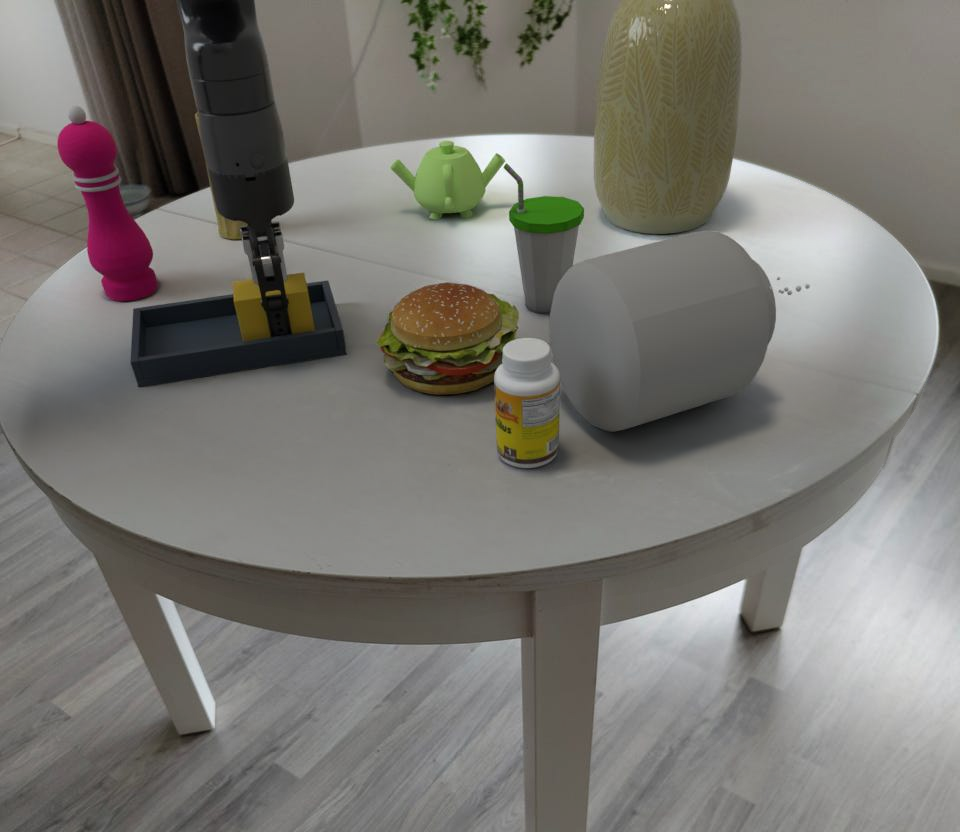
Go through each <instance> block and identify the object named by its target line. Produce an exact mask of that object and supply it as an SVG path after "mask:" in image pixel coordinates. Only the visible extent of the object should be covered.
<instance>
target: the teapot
mask: <svg viewBox="0 0 960 832" xmlns="http://www.w3.org/2000/svg"><path fill="white" fill-rule="evenodd" d="M438 145H439V146H436V147H433V148H431V149H429V150H427V151H426V152H425V154H424V155H423V157H422V158H421V161H420V164H419V165H418V168H417V170H416V172H415V175H414V174H413V173H412V172H411V171H410V170H409V169H408V168H407V166H406V165H405V164H404V163H403V162H402V161H401V160H400V159H396V160H395V161H394V162H393V163H392V164H391V166H390V170H391V171H393V173H394V174H396V176H397V177H399V179H400V180H401V181H403V183H404V184H405V185H406V186H407V187H408V188H409V189H410V190H411V191H412V192H413V196H414V199H415V201H416V202H417V203H418V204H419V205H420V206H421V207H422V208H423V209H424V210H426V211H427V212H430V214H429V216H428V218H429V219H431V220H440V219H442V218H443V214H454V213H459V216H460V217H461V218H471V217H473V216H474V214H473V212H472V210H471V209H474V208H475V207H477V205H479V204H480V202H481V201H482V199H483V198H484V196H485V194H486V188H487V186H488V185H489V184H490V183H491V181H492V179H493V178H494V177H495V176H496V175H497V173H498V172H499V170H500V169H501V168H502V166H503V165H505V163H506V159H505V158H504V157H503V156H502V155H501V154H499V153H497V152H496V153H495V154H494V155H493V157H492V158H491V160H490V161H489V162H488V164H487V166H486V167H485V168H484V170H483V171H482V169H481V168H480V165H479V164H478V162H477V161H476V159H475V158H474V156H473V154H472V153H471V151H470V150H469V149H467V148H466V147H465V146H464V147H463V146H460V145H455V142H454V141H453V140H452V141H451V140H443V141H440V142H439V143H438Z"/></svg>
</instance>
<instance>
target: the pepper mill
mask: <svg viewBox="0 0 960 832" xmlns="http://www.w3.org/2000/svg"><path fill="white" fill-rule="evenodd" d="M67 117H68V119H69V121H70V123H68V124H67V125H65V126H64V127H63V128H62V129H61V130H60V132H59V134H58V136H57V141H56V142H57V143H56V144H57V151H58V155H59V157H60V159H61V161H62V163H63V164H64V165H65V166H66V167H67V168H68V169H70V170H71V171H72V175H71V178H72V179H71V180H73V182H74V188H75V190H77V191H80V193H81V196H82V197H83V200H84V202H85V206H86V209H87V214H88V230H87V240H86V249H87V250H86V251H87V257H88V260H89V264H90V265H91V267H92V268H93V269H94V270H95V271H96V272H97V273H98V274H100V275H102V277H101V280H100V282H101V285H102V289H103V292H104V295H105V296H106V297H107V298H108V299H109V300H112V301H116V302H134V301H137V300H141V299H145V298H147V297H149V296H150V295H152V294H154V293H155V292H156V291H157V289H158V288H159V283H158V279H157V276H156V271H155V270H154V269H153V268H151V267H150V265H151V263H152V261H153V257H154V251H153V247H152V245H151V242H150V240H149V239H148V237H147V235H146V233H145V232H144V230H143V229H142V228H141V227H140V225H139V224H138V222H137V221H136V220H135V219H134V217H133V216H132V215H131V213H130V212H129V209H127V207H126V204H125V202H124V199H123V196H122V194H121V190H120V189H121V188H120V184H121V182H122V177H121V175H120V174H119V172H120V170H119V167H117V166H115V165H114V164H115V161H116V159H117V156H118V148H117V144H116V141H115V138H114V137H113V135H112V134H111V132H110V131H109V130H108V129H107V128H106V127H105V126H104V125H102V124H100V123H98V122H96V121H93V120H87V115H86V112H85V110H84V109H83V108H82V107H80V106H78V105H72V106H71V107H69V108H68V110H67Z"/></svg>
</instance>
